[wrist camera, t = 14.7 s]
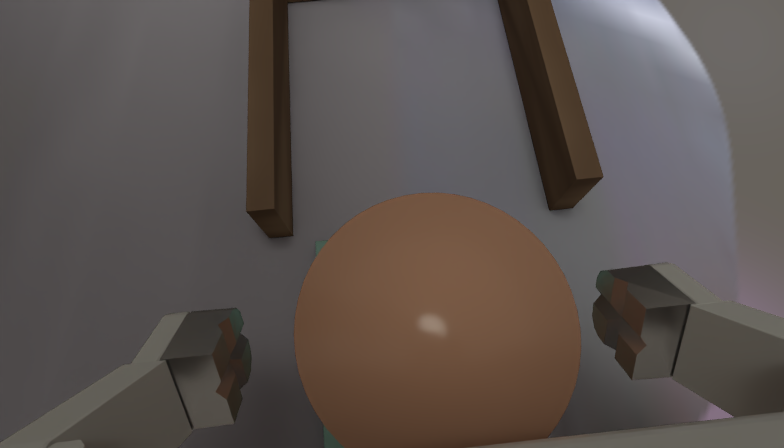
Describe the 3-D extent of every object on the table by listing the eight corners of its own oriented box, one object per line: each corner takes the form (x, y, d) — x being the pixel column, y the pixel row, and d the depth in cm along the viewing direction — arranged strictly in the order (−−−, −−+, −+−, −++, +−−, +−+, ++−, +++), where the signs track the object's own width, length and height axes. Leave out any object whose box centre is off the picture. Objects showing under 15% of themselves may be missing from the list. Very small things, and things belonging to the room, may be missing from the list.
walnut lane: (269, 237, 18) (246, 211, 16) (268, -11, 23) (250, -65, 20) (572, 208, 19) (603, 176, 16) (509, -31, 24) (524, -87, 21)
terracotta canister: (355, 430, 15) (295, 501, 6) (349, 303, 17) (292, 203, 8) (481, 419, 16) (613, 469, 6) (463, 293, 17) (547, 182, 8)
